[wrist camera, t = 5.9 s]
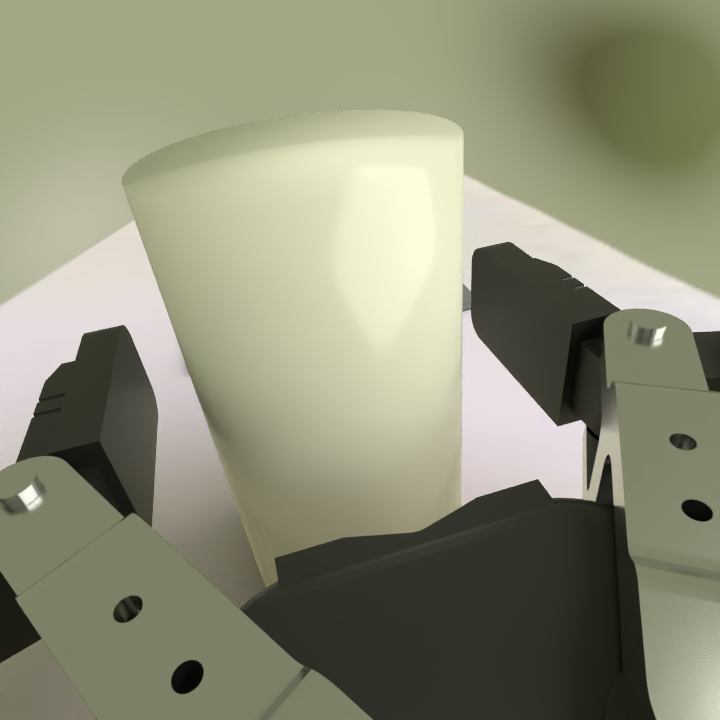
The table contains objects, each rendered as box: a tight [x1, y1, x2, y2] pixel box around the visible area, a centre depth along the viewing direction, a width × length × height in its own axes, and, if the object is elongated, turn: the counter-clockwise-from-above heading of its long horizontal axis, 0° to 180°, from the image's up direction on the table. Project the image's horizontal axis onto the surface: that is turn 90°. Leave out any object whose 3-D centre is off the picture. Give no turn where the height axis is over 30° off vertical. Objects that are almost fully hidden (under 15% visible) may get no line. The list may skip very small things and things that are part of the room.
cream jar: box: [122, 110, 464, 588], centre depth 11 cm, size 5×5×10 cm
